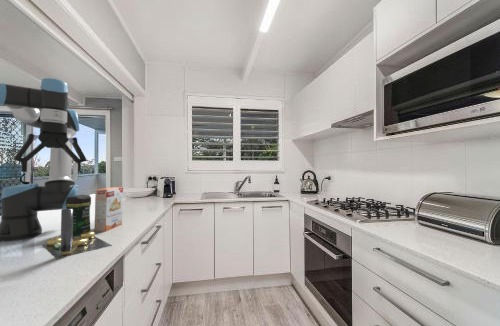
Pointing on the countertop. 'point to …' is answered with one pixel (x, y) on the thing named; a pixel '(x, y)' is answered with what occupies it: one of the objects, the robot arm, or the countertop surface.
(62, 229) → the crank handle
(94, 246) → the levelling plate
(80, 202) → the coffee jar
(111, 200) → the cracker box
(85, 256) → the countertop surface
